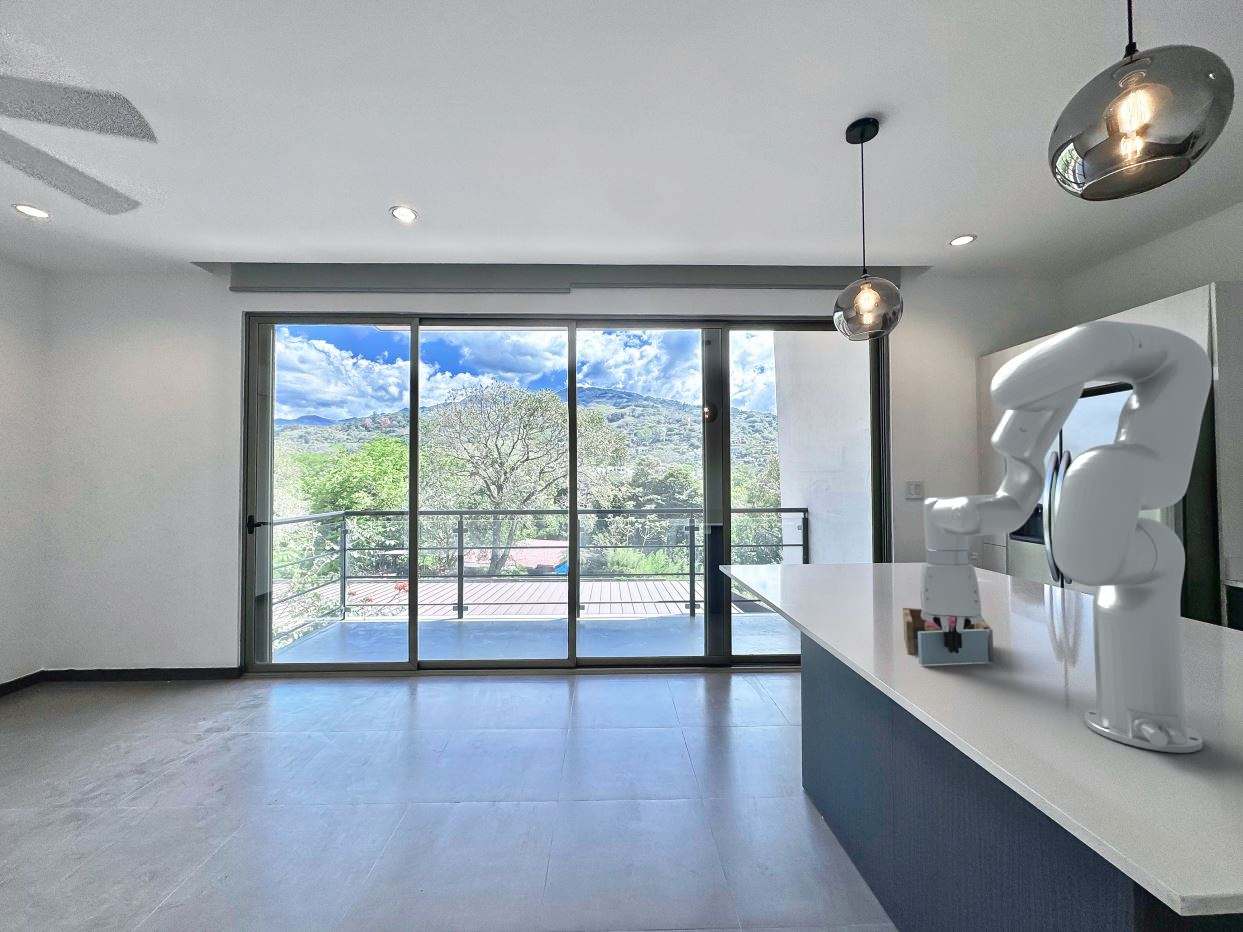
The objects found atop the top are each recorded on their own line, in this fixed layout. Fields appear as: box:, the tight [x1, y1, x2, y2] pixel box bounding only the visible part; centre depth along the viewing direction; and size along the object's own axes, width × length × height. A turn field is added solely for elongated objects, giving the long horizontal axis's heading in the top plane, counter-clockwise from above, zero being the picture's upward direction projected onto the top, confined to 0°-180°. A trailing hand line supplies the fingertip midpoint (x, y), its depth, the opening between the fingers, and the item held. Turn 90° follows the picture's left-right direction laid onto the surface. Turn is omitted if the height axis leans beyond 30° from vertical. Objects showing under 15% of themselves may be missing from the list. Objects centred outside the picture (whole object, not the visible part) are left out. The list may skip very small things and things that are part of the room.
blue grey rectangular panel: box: [917, 628, 995, 666], centre depth 113 cm, size 1×15×6 cm, turn 93°
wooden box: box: [902, 607, 991, 663], centre depth 124 cm, size 14×15×7 cm
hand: (953, 651), depth 110 cm, fingers closed
